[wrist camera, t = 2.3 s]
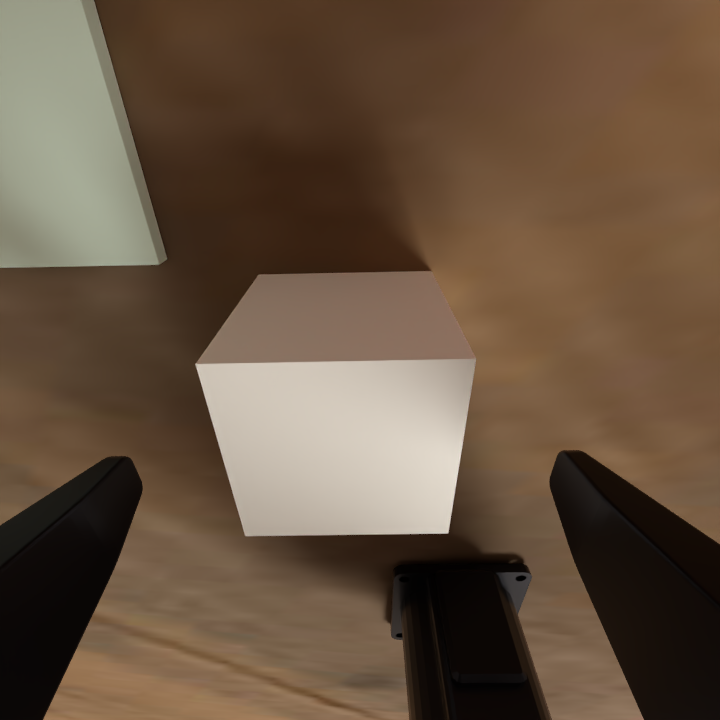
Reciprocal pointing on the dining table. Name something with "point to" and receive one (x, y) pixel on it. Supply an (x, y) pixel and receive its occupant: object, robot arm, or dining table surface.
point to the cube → (340, 403)
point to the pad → (67, 145)
